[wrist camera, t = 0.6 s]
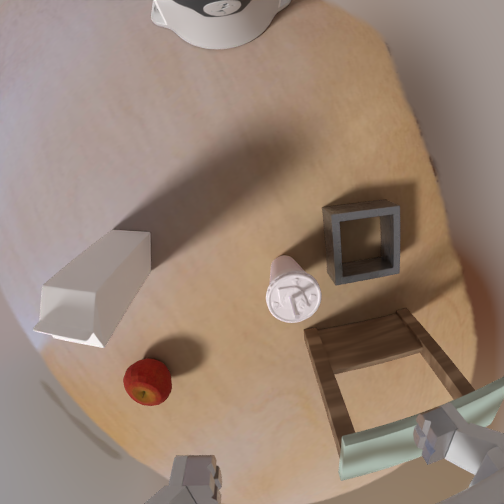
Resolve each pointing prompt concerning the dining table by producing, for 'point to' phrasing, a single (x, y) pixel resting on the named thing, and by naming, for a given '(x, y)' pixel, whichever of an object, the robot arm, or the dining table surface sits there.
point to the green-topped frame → (376, 352)
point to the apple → (148, 382)
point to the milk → (96, 289)
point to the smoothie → (291, 291)
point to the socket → (367, 267)
